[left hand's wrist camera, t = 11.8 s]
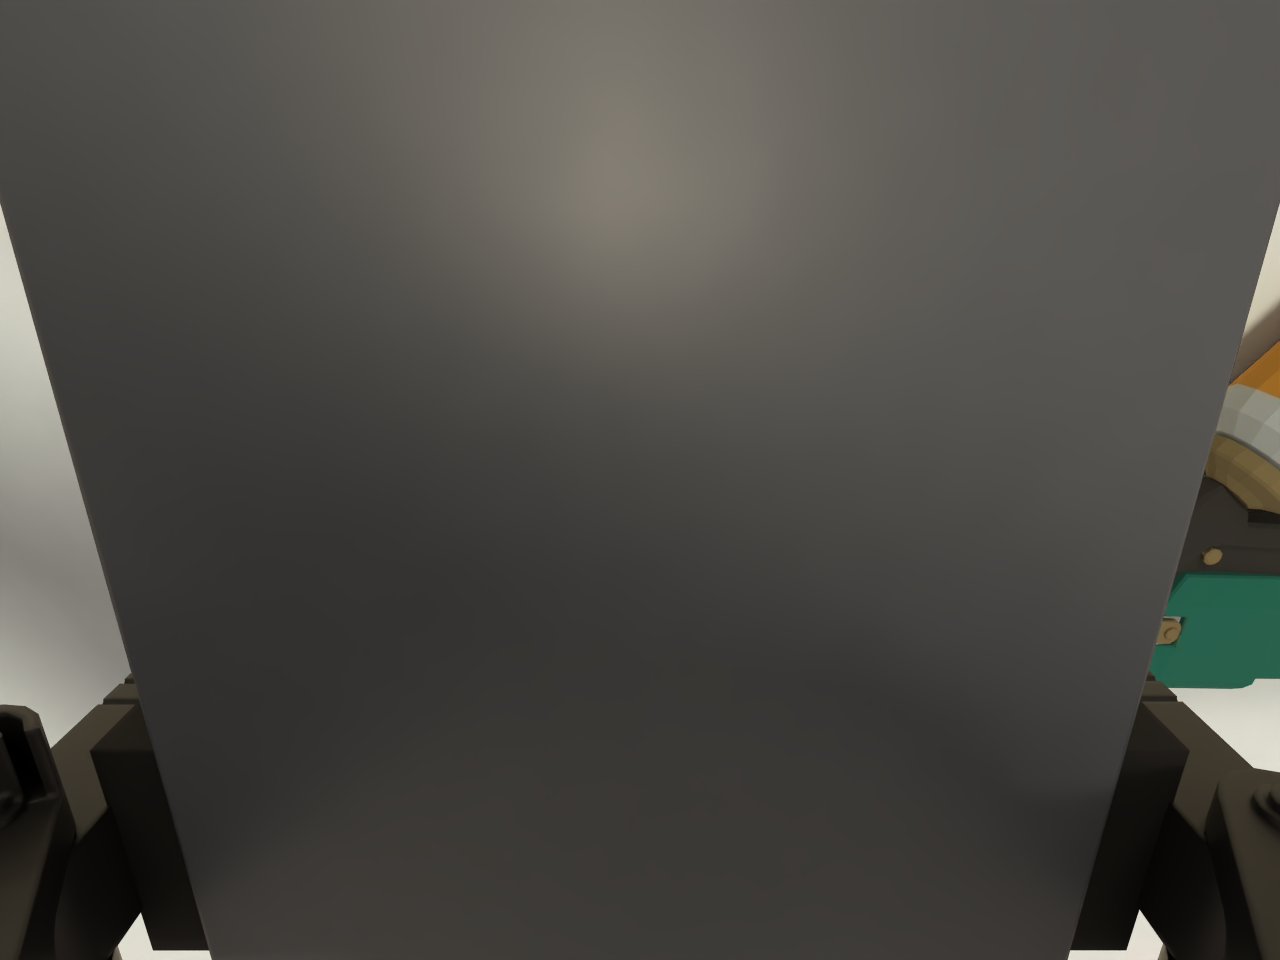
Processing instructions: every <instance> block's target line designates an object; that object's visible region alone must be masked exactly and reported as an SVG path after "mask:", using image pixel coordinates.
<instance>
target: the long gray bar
mask: <svg viewBox="0 0 1280 960" xmlns="http://www.w3.org/2000/svg"><path fill="white" fill-rule="evenodd" d="M1279 203H1280V0H0V204H1V207H2V211H3V214H4V218H5V222H6V225H7V229H8V232H9V236H10V239H11V243H12V247H13V250H14V254H15V257H16V261H17V264H18V268H19V272H20V275H21V279H22V282H23V286H24V289H25V293H26V297H27V300H28V304H29V307H30V311H31V315H32V318H33V322H34V325H35V329H36V332H37V336H38V340H39V343H40V347H41V350H42V354H43V357H44V361H45V365H46V368H47V372H48V375H49V379H50V382H51V386H52V390H53V393H54V397H55V400H56V404H57V408H58V411H59V415H60V418H61V422H62V425H63V429H64V433H65V436H66V440H67V443H68V447H69V450H70V454H71V458H72V461H73V465H74V468H75V472H76V475H77V479H78V483H79V486H80V490H81V493H82V497H83V501H84V504H85V508H86V511H87V515H88V518H89V522H90V526H91V529H92V533H93V536H94V540H95V543H96V547H97V551H98V554H99V558H100V561H101V565H102V568H103V572H104V576H105V579H106V583H107V586H108V590H109V594H110V597H111V601H112V604H113V608H114V611H115V615H116V619H117V622H118V626H119V629H120V633H121V636H122V640H123V644H124V647H125V651H126V654H127V658H128V662H129V665H130V669H131V672H132V676H133V679H134V683H135V687H136V690H137V694H138V697H139V701H140V704H141V708H142V712H143V715H144V719H145V722H146V726H147V729H148V733H149V737H150V740H151V744H152V747H153V751H154V755H155V758H156V762H157V765H158V769H159V772H160V776H161V780H162V783H163V787H164V790H165V794H166V797H167V801H168V805H169V808H170V812H171V815H172V819H173V822H174V826H175V830H176V833H177V837H178V840H179V844H180V848H181V851H182V855H183V858H184V862H185V865H186V869H187V873H188V876H189V880H190V883H191V887H192V890H193V894H194V898H195V901H196V905H197V908H198V912H199V915H200V919H201V923H202V926H203V930H204V933H205V937H206V941H207V944H208V948H209V951H210V955H211V958H212V960H1067V959H1068V956H1069V952H1070V949H1071V945H1072V942H1073V938H1074V934H1075V931H1076V927H1077V924H1078V920H1079V917H1080V913H1081V910H1082V906H1083V902H1084V899H1085V895H1086V892H1087V888H1088V885H1089V881H1090V877H1091V874H1092V870H1093V867H1094V863H1095V860H1096V856H1097V852H1098V849H1099V845H1100V842H1101V838H1102V835H1103V831H1104V827H1105V824H1106V820H1107V817H1108V813H1109V810H1110V806H1111V803H1112V799H1113V795H1114V792H1115V788H1116V785H1117V781H1118V778H1119V774H1120V770H1121V767H1122V763H1123V760H1124V756H1125V753H1126V749H1127V745H1128V742H1129V738H1130V735H1131V731H1132V728H1133V724H1134V721H1135V717H1136V713H1137V710H1138V706H1139V703H1140V699H1141V696H1142V692H1143V688H1144V685H1145V681H1146V678H1147V674H1148V671H1149V667H1150V663H1151V660H1152V656H1153V653H1154V649H1155V646H1156V642H1157V638H1158V635H1159V631H1160V628H1161V624H1162V621H1163V617H1164V614H1165V610H1166V606H1167V603H1168V599H1169V596H1170V592H1171V589H1172V585H1173V581H1174V578H1175V574H1176V571H1177V567H1178V564H1179V560H1180V556H1181V553H1182V549H1183V546H1184V542H1185V539H1186V535H1187V532H1188V528H1189V524H1190V521H1191V517H1192V514H1193V510H1194V507H1195V503H1196V499H1197V496H1198V492H1199V489H1200V485H1201V482H1202V478H1203V474H1204V471H1205V467H1206V464H1207V460H1208V457H1209V453H1210V449H1211V446H1212V442H1213V439H1214V435H1215V432H1216V428H1217V425H1218V421H1219V417H1220V414H1221V410H1222V407H1223V403H1224V400H1225V396H1226V392H1227V389H1228V385H1229V382H1230V378H1231V375H1232V371H1233V367H1234V364H1235V360H1236V357H1237V353H1238V350H1239V346H1240V343H1241V339H1242V335H1243V332H1244V328H1245V325H1246V321H1247V318H1248V314H1249V310H1250V307H1251V303H1252V300H1253V296H1254V293H1255V289H1256V285H1257V282H1258V278H1259V275H1260V271H1261V268H1262V264H1263V260H1264V257H1265V253H1266V250H1267V246H1268V243H1269V239H1270V236H1271V232H1272V228H1273V225H1274V221H1275V218H1276V214H1277V211H1278V207H1279Z"/></svg>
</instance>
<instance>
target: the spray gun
mask: <svg viewBox="0 0 1280 960" xmlns="http://www.w3.org/2000/svg"><path fill="white" fill-rule="evenodd" d="M1205 471H1206V477H1204V478H1202V482H1201V485H1200V489H1199V492H1198V496H1197V499H1196V503H1195V507H1194V510H1193V514H1192V517H1191V521H1190V524H1189V528H1188V532H1187V535H1186V539H1185V542H1184V546H1183V549H1182V553H1181V556H1180V560H1179V564H1178V567H1177V571H1176V574H1175V578H1174V581H1173V585H1172V589H1171V592H1170V596H1169V599H1168V603H1167V606H1166V610H1165V614H1164V617H1163V621H1162V624H1161V628H1160V631H1159V635H1158V638H1157V642H1156V646H1155V649H1154V653H1153V656H1152V660H1151V663H1150V667H1149V671H1150V672H1151V673H1152V674H1153V675H1154V676H1155V679H1156V681H1161V682H1162V683H1163V684H1164V685H1165V686H1166V687H1167V688H1217V689H1234V688H1243V687H1246V686H1249V685H1251V684H1252V683H1253V682H1254V680H1255V679H1280V341H1278V342H1277V343H1276V344H1275V345H1274V346H1273V347H1272V348H1270V349H1269V350H1268V351H1267V352H1266V353H1265V354H1264V355H1263V356H1261V357H1260V358H1259V359H1258V360H1257V361H1256V362H1255V363H1254V364H1252V365H1251V366H1250V367H1249V368H1248V369H1247V370H1246V371H1245V372H1243V373H1242V374H1241V375H1240V376H1239V377H1238V378H1237V379H1236V380H1234V381H1233V382H1232V383H1231V384H1230V385H1229V386H1228V389H1227V392H1226V396H1225V400H1224V403H1223V407H1222V410H1221V414H1220V417H1219V421H1218V425H1217V428H1216V432H1215V435H1214V439H1213V442H1212V446H1211V449H1210V453H1209V457H1208V460H1207V464H1206V467H1205ZM1246 508H1249V509H1262V510H1266V511H1269V512H1248V510H1247V509H1246Z"/></svg>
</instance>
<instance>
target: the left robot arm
mask: <svg viewBox="0 0 1280 960" xmlns="http://www.w3.org/2000/svg"><path fill="white" fill-rule="evenodd" d="M1139 909H1140V911H1141V912H1142V914H1143V915H1144V916H1145V918H1146V919H1147V921H1148V922H1149V924H1150V925H1151V926H1152V928H1153V929H1154V931H1155V932H1156V934H1157V935H1158V936H1159V938H1160V939H1161V941H1162V942H1163V946H1162V949H1161V952H1160V954H1159V957H1158V960H1280V772H1274V771H1268V770H1262V769H1256V768H1253V767H1252V766H1251V765H1250V764H1249V763H1248V762H1247V761H1246V760H1244V759H1243V758H1242V757H1241V756H1240V755H1239V754H1238V753H1237V752H1236V751H1235V750H1234V749H1233V748H1232V747H1231V746H1229V745H1228V744H1227V743H1226V742H1225V741H1224V740H1223V739H1222V738H1221V737H1220V736H1219V735H1218V734H1217V733H1216V732H1214V731H1213V730H1212V729H1211V728H1210V727H1209V726H1208V725H1207V724H1206V723H1205V722H1204V721H1203V720H1202V719H1200V718H1199V717H1198V716H1197V715H1196V714H1195V713H1194V712H1193V711H1192V710H1191V709H1190V708H1189V707H1188V706H1187V705H1185V704H1184V703H1183V702H1178V701H1177V696H1176V695H1175V694H1174V693H1173V692H1172V691H1170V690H1169V689H1168V688H1167V687H1166V686H1165V685H1164V684H1163V683H1162V682H1161V681H1156V679H1155V676H1154V675H1153V674H1152V673H1151V672H1150V671H1148V674H1147V678H1146V681H1145V685H1144V688H1143V692H1142V696H1141V699H1140V703H1139V706H1138V710H1137V713H1136V717H1135V721H1134V724H1133V728H1132V731H1131V735H1130V738H1129V742H1128V745H1127V749H1126V753H1125V756H1124V760H1123V763H1122V767H1121V770H1120V774H1119V778H1118V781H1117V785H1116V788H1115V792H1114V795H1113V799H1112V803H1111V806H1110V810H1109V813H1108V817H1107V820H1106V824H1105V827H1104V831H1103V835H1102V838H1101V842H1100V845H1099V849H1098V852H1097V856H1096V860H1095V863H1094V867H1093V870H1092V874H1091V877H1090V881H1089V885H1088V888H1087V892H1086V895H1085V899H1084V902H1083V906H1082V910H1081V913H1080V917H1079V920H1078V924H1077V927H1076V931H1075V934H1074V938H1073V942H1072V945H1071V949H1070V950H1127V947H1128V943H1129V940H1130V937H1131V934H1132V931H1133V928H1134V925H1135V921H1136V918H1137V915H1138V912H1139ZM140 913H141V914H142V917H143V920H144V923H145V927H146V930H147V933H148V936H149V939H150V942H151V945H152V949H153V950H209V948H208V944H207V941H206V937H205V933H204V930H203V926H202V923H201V919H200V915H199V912H198V908H197V905H196V901H195V898H194V894H193V890H192V887H191V883H190V880H189V876H188V873H187V869H186V865H185V862H184V858H183V855H182V851H181V848H180V844H179V840H178V837H177V833H176V830H175V826H174V822H173V819H172V815H171V812H170V808H169V805H168V801H167V797H166V794H165V790H164V787H163V783H162V780H161V776H160V772H159V769H158V765H157V762H156V758H155V755H154V751H153V747H152V744H151V740H150V737H149V733H148V729H147V726H146V722H145V719H144V715H143V712H142V708H141V704H140V701H139V697H138V694H137V690H136V687H135V683H134V679H133V676H132V673H131V674H130V675H129V676H128V677H127V678H126V679H125V683H124V684H119V685H118V686H117V687H116V688H115V689H114V690H113V691H112V692H111V693H110V694H109V695H107V696H106V697H105V698H104V699H103V704H102V705H97V706H96V707H95V708H94V709H93V710H91V711H90V712H89V713H88V714H87V715H86V716H85V717H84V718H83V719H82V720H81V721H80V722H79V723H78V724H77V725H76V726H74V727H73V728H72V729H71V730H70V731H69V732H68V733H67V734H66V735H65V736H64V737H63V738H62V739H61V740H60V741H58V742H57V743H56V744H55V745H54V746H53V747H52V748H51V749H50V746H49V743H48V741H47V738H46V735H45V732H44V729H43V726H42V723H41V720H40V717H39V714H37V713H36V712H34V711H32V710H31V709H29V708H27V707H26V706H15V705H0V960H122V957H121V954H120V952H119V949H118V944H119V943H120V941H121V940H122V938H123V937H124V936H125V934H126V933H127V931H128V930H129V928H130V927H131V926H132V924H133V923H134V921H135V920H136V918H137V917H138V915H139V914H140Z"/></svg>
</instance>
